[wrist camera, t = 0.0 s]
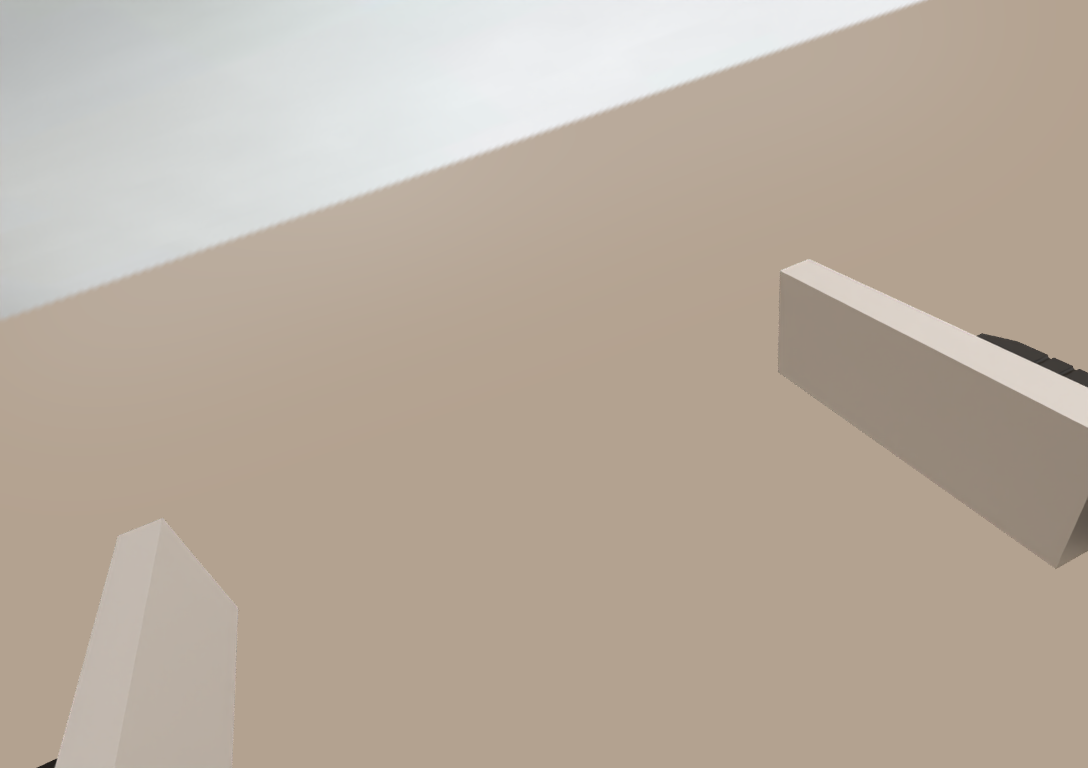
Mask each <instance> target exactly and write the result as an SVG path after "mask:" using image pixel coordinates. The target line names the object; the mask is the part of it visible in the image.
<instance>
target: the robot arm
mask: <svg viewBox="0 0 1088 768" xmlns="http://www.w3.org/2000/svg"><path fill="white" fill-rule="evenodd" d="M778 372H779V373H780V374H782V375H783V376H784V377H786V378H787V379H789V380H790V381H791V382H793V383H794V384H795V385H797V386H799V387H800V388H801V389H803V390H804V391H805V392H807V393H808V394H810V395H811V396H812V397H814V398H815V399H817V400H818V401H820V402H821V403H822V404H824V405H825V406H827V407H828V408H829V409H831V410H832V411H834V412H835V413H836V414H838V415H839V416H841V417H842V418H844V419H845V420H846V421H848V422H849V423H851V424H852V425H853V426H855V427H856V428H858V429H859V430H860V431H862V432H863V433H865V434H866V435H868V436H869V437H870V438H872V439H873V440H875V441H876V442H877V443H879V444H880V445H882V446H883V447H885V448H886V449H887V450H889V451H890V452H892V453H893V454H894V455H896V456H897V457H899V458H900V459H901V460H903V461H904V462H906V463H907V464H908V465H910V466H911V467H913V468H914V469H916V470H917V471H918V472H920V473H921V474H923V475H924V476H925V477H927V478H928V479H930V480H931V481H933V482H934V483H935V484H937V485H938V486H939V487H941V488H942V489H944V490H945V491H947V492H948V493H949V494H951V495H952V496H954V497H955V498H956V499H958V500H959V501H961V502H962V503H963V504H965V505H966V506H968V507H969V508H971V509H972V510H973V511H975V512H976V513H978V514H979V515H981V516H982V517H983V518H985V519H986V520H987V521H989V522H990V523H992V524H993V525H995V526H996V527H997V528H999V529H1000V530H1002V531H1003V532H1004V533H1006V534H1007V535H1009V536H1010V537H1011V538H1013V539H1014V540H1016V541H1017V542H1019V543H1020V544H1021V545H1023V546H1024V547H1026V548H1027V549H1028V550H1030V551H1031V552H1033V553H1034V554H1035V555H1037V556H1038V557H1040V558H1041V559H1043V560H1044V561H1046V562H1047V563H1048V564H1050V565H1051V566H1053V567H1054V568H1055V569H1057V568H1058V567H1060V566H1062V565H1064V564H1065V563H1067V562H1069V561H1070V560H1072V559H1074V558H1076V557H1078V556H1079V555H1081V554H1083V553H1085V552H1087V551H1088V373H1087V372H1085V371H1083V370H1081V369H1078V370H1074V368H1073V366H1072V365H1069V364H1067V363H1065V362H1063V361H1060V360H1058V359H1056V358H1052V359H1050V358H1049V357H1048V355H1047V354H1045V353H1042V352H1040V351H1038V350H1036V349H1033V348H1031V347H1029V346H1026V345H1024V344H1022V343H1020V342H1017V341H1013V340H1009V339H1004V338H999V337H996V336H991V335H987V334H980V335H978V336H975V335H973V334H970V333H968V332H966V331H964V330H961V329H960V328H957V327H955V326H953V325H951V324H949V323H947V322H944V321H942V320H940V319H938V318H936V317H934V316H931V315H929V314H927V313H925V312H923V311H921V310H918V309H916V308H914V307H912V306H910V305H907V304H905V303H903V302H901V301H899V300H896V299H894V298H892V297H890V296H888V295H886V294H884V293H882V292H879V291H877V290H875V289H873V288H871V287H868V286H866V285H864V284H862V283H860V282H858V281H856V280H853V279H851V278H849V277H847V276H845V275H843V274H840V273H838V272H836V271H834V270H832V269H829V268H827V267H825V266H823V265H821V264H819V263H816V262H814V261H812V260H810V259H808V260H805V261H803V262H800V263H798V264H795V265H793V266H790V267H788V268H786V269H783V270H780V292H779V342H778ZM237 623H238V607H237V606H236V605H235V603H234V602H233V601H232V600H231V599H230V597H229V596H228V595H227V594H226V593H225V592H224V590H223V589H222V588H221V587H220V586H219V584H218V583H217V582H216V581H215V580H214V578H213V577H212V576H211V575H210V574H209V572H208V571H207V570H206V569H205V568H204V566H203V565H202V564H201V563H200V562H199V560H198V559H197V558H196V557H195V556H194V554H193V553H192V552H191V551H190V550H189V548H188V547H187V546H186V545H185V544H184V542H183V541H182V540H181V539H180V538H179V536H178V535H177V534H176V533H175V532H174V531H173V529H172V528H171V527H170V526H169V524H168V523H167V522H166V521H165V520H164V519H163V518H161V519H158V520H156V521H153V522H151V523H148V524H146V525H143V526H141V527H138V528H136V529H133V530H131V531H128V532H126V533H123V534H121V535H118V538H117V541H116V545H115V549H114V552H113V556H112V560H111V564H110V567H109V571H108V574H107V578H106V582H105V585H104V589H103V593H102V596H101V600H100V604H99V608H98V611H97V615H96V619H95V622H94V626H93V630H92V633H91V637H90V641H89V645H88V648H87V652H86V655H85V659H84V663H83V667H82V670H81V674H80V677H79V681H78V685H77V688H76V693H75V696H74V700H73V703H72V707H71V711H70V714H69V718H68V722H67V725H66V729H65V733H64V737H63V740H62V744H61V748H60V751H59V755H58V758H57V759H55V760H53V761H51V762H48V763H46V764H44V765H42V766H40V767H38V768H232V754H233V729H234V703H235V677H236V652H237V627H238V624H237Z"/></svg>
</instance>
